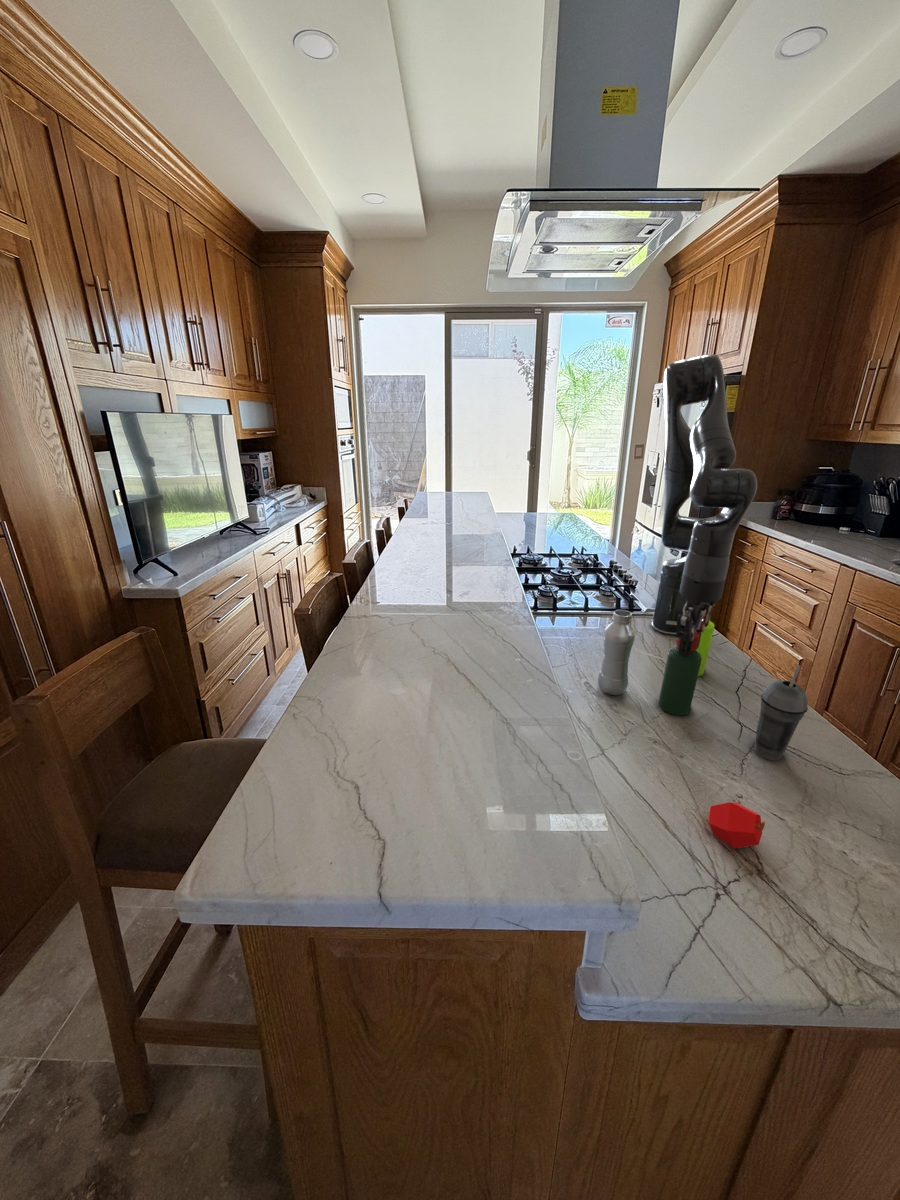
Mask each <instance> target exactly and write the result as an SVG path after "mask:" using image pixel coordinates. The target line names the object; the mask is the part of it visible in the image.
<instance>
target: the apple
mask: <svg viewBox="0 0 900 1200" xmlns="http://www.w3.org/2000/svg"><path fill="white" fill-rule="evenodd" d="M707 820H708V821H707V822H708V825H709V827H710V830H711V832H712V835H714V836H715V837H717V838H718V839H719V840H721V841H722V842H724V843H725V844H726V845H728V846H730V847H731V848H733V849H734V850H736V849H742V848H747V847H752V846H758V845H760V841H761V839H762V835H763V831H764V828H765V825H766V821H764V820H762V818H761V815H760V814H759V813H757V812H756V811H754V810H751V809H749V808H748V807H746V806H744V805H742V804H741V803H739V802H733V801H732V802H731V801H729V802H724V803H720V804H713V805H710V806H709V811H708V818H707Z"/></svg>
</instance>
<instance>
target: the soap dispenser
mask: <svg viewBox="0 0 900 1200" xmlns="http://www.w3.org/2000/svg"><path fill="white" fill-rule="evenodd" d="M714 607H716V603H715V604H714ZM711 616H712V615H711ZM711 616H710V619H709V622H708V626H707V627H704V631H703V633H702V634H701V638H700V643H699V647H698V648H697V650H696V651H697V652H698V653H700V655H701V657H702V660H701V664H700V669H699V673H698V677H700V676H701V677H702V676H703V675H704V674H705V669H706V665H707V662H708V661H707V660H708V657H709V652H710V648H711V644H712V639H713V634H714V631H715V626H716V624H715V623H714V622H713V621H711V618H712V617H711ZM703 618H704V617H703Z"/></svg>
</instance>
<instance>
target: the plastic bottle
mask: <svg viewBox="0 0 900 1200" xmlns="http://www.w3.org/2000/svg"><path fill="white" fill-rule="evenodd" d="M632 616H633V614H632V612H631V611H629V610H626V609H616V610H614V611H613V614H612V618H611V621H612V622H611V623H609V624H608V625H607V626H606V627H605V629H604V631H603V659H602V664H601V668H600V671H599V674H598V677H597V685H598V687H599V689H600V690H601V691H602V692H603V693H605V694H607V695H610V696H611V695H612V696H619V695H622V694H624V693H625V692H626V691H627V690H628V686H629V674H628V673H629V661H630V657H631V651H632V648H633V646H634V642H635V639H636V635H635V631H634V629H633V627H632V625H631V623H632Z"/></svg>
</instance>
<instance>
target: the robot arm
mask: <svg viewBox="0 0 900 1200" xmlns="http://www.w3.org/2000/svg"><path fill="white" fill-rule="evenodd" d="M725 382H726V381H725V373H724V368H723V363H722V360H721V359H720V357H719V356H718V355H716V354H714V353H708V354H703V355H702V354H701V355H699V356H694V357H690V358H689V357H688V358H684V359H680V360H675V361H673V362H670V363H669V364H668V365H666V368H665V370H664V375H663V399H664V400H663V401H664V420H665V445H664V446H665V447H664V448H665V449H664V450H665V451H664V473H663V474H664V506H663V517H662V528H661V543H662V546H664V547H665V548H667V549H671V550H675V551H680V552H681V551H682V552H687V554H686V555H685V556H683V557H678V558H671V559H667V560H665V561H664V562H663V563H662V566H661V572H660V578H659V585H658V590H657V595H656V600H655V601H656V602H655V606H654V612H653V617H652V622H651V627H652V629H653V630H654V631H656V632H659V633H660V634H664V635H670V636H675V638H676V639H678V638H680V639H681V640H680V645H679V650H678V653H679V654H681V655H684V656H687V657H688V656H689V655H690V654H691V649H692V644H693V640H694V636H695V633H696V631H697V632H699V633H700V638H701V634H702V633H703V631H704V627H707V626H708V622H709V619H710V620H711V617H710V616H712V614H713V610H714V607H715V606H714V604H715V605H716V603H717V602H718V601H721V599H722V597H723V593H724V588H725V584H726V580H727V575H728V571H729V568H730V567H729V566H730V556H731V551H732V547H733V543H734V540H735V535H736V533H737V530H738V528H739V526H740V524H741V522H742V521H743V518H744V517H745V515H746V513H747V511H748V510H749V508H750V506H751V504H752V503H753V501H754V500H755V496H756V495H757V491H758V479H757V475H756V474H755V472H754V471H752V469H749V468H745V467H740V468H739V467H738V468H737V467H732V466H733V465H734V463H735V462H736V459H737V449H736V447H735V444H734V443H735V442H734V440H733V436H732V433H731V429H730V425H729V418H728V404H727V393H726V383H725ZM704 402H707V403H706V405H705V407H704V409H703V410H702V412H701V413H700V415H699V416H698V417H697V419H696V421H695V422H694V423H693V426H692V428H690V426H689V424H687V422H686V420H685V418H684V416H683V414H682V411H681V409H682V407H683V406H688V405H694V404H699V403H704ZM689 499H690V500H691V501H692V503H694V505H695V506H697V507H699V508H706V509H721V511H720V512H719V513H718V514H717V515H715V516H711V517H707V518H700V517H692V516H685V515H680V510H681V508H682V507H683V505H684V504H685V503H686V501H688V500H689ZM703 617H704V618H703ZM700 638H699V643H700ZM699 643H698V647H699ZM698 647H697V648H698Z"/></svg>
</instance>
